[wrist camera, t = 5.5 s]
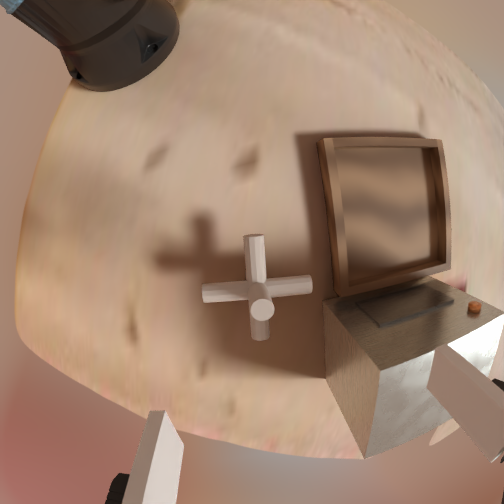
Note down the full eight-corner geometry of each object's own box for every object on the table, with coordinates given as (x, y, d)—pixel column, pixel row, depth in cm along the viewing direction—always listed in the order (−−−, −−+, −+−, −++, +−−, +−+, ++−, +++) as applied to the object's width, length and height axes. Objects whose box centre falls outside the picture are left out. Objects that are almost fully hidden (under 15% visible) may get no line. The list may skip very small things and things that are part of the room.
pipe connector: (203, 233, 29) (188, 250, 19) (296, 226, 29) (325, 239, 20) (213, 319, 31) (205, 368, 21) (299, 311, 31) (323, 356, 22)
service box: (321, 295, 31) (381, 364, 16) (427, 271, 32) (506, 307, 17) (325, 381, 34) (363, 461, 19) (419, 350, 34) (477, 403, 19)
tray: (316, 142, 28) (323, 138, 25) (430, 142, 28) (441, 139, 26) (333, 290, 31) (341, 297, 29) (439, 265, 32) (450, 269, 29)
